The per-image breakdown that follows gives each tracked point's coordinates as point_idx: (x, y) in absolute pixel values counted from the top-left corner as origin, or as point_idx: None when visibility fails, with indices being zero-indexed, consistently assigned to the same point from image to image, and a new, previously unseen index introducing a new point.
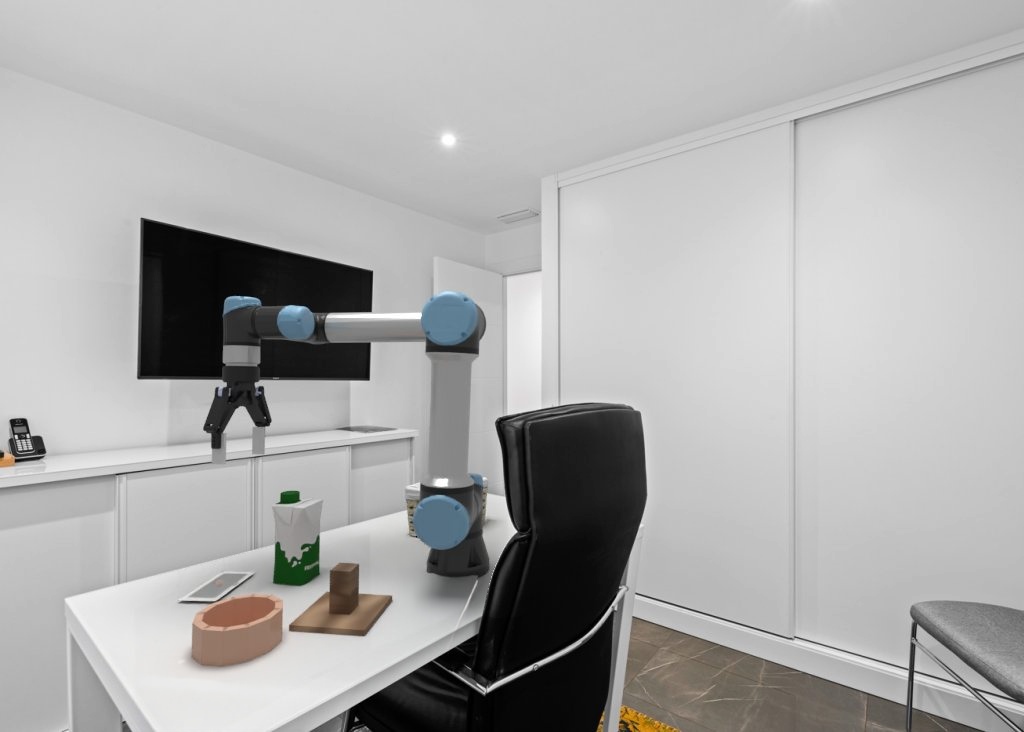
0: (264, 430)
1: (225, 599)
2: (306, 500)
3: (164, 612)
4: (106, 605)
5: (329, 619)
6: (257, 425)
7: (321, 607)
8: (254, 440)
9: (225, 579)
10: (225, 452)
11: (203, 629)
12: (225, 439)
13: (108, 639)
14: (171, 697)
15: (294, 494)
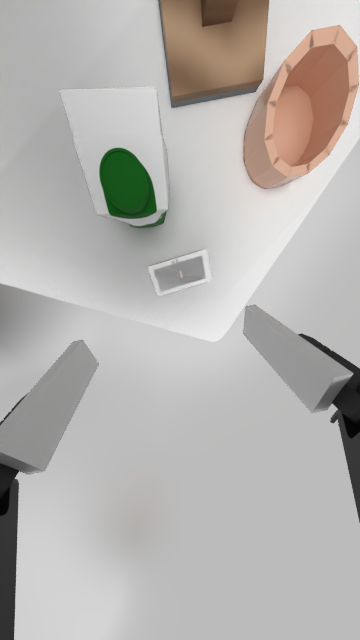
0: (2, 427)
1: (278, 169)
2: (102, 138)
3: (224, 275)
4: (221, 319)
5: (247, 1)
6: (9, 480)
7: (216, 60)
8: (74, 397)
9: (170, 279)
10: (267, 322)
11: (348, 121)
12: (308, 352)
13: (261, 273)
14: (342, 138)
15: (129, 152)
